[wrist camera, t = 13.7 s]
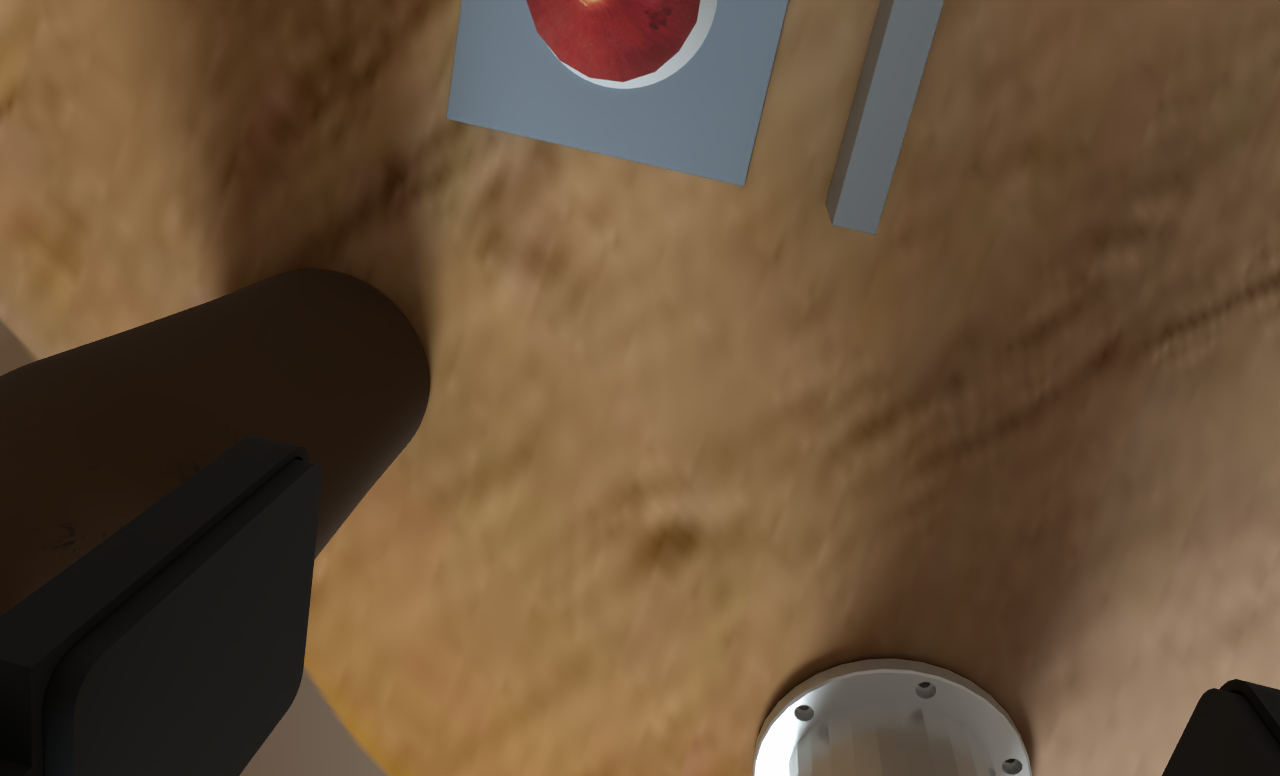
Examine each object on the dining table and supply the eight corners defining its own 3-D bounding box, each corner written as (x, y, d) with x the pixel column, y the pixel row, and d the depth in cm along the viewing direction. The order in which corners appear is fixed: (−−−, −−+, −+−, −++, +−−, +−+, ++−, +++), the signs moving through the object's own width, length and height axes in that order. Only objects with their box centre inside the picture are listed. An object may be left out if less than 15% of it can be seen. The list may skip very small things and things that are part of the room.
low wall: (863, 212, 38) (875, 234, 33) (825, 203, 38) (832, 224, 33) (960, -128, 34) (989, -156, 29) (917, -136, 34) (939, -166, 29)
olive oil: (277, 203, 41) (-384, 409, 18) (488, 346, 42) (124, 722, 19) (178, 395, 45) (-479, 777, 21) (374, 523, 46) (-51, 1025, 22)
